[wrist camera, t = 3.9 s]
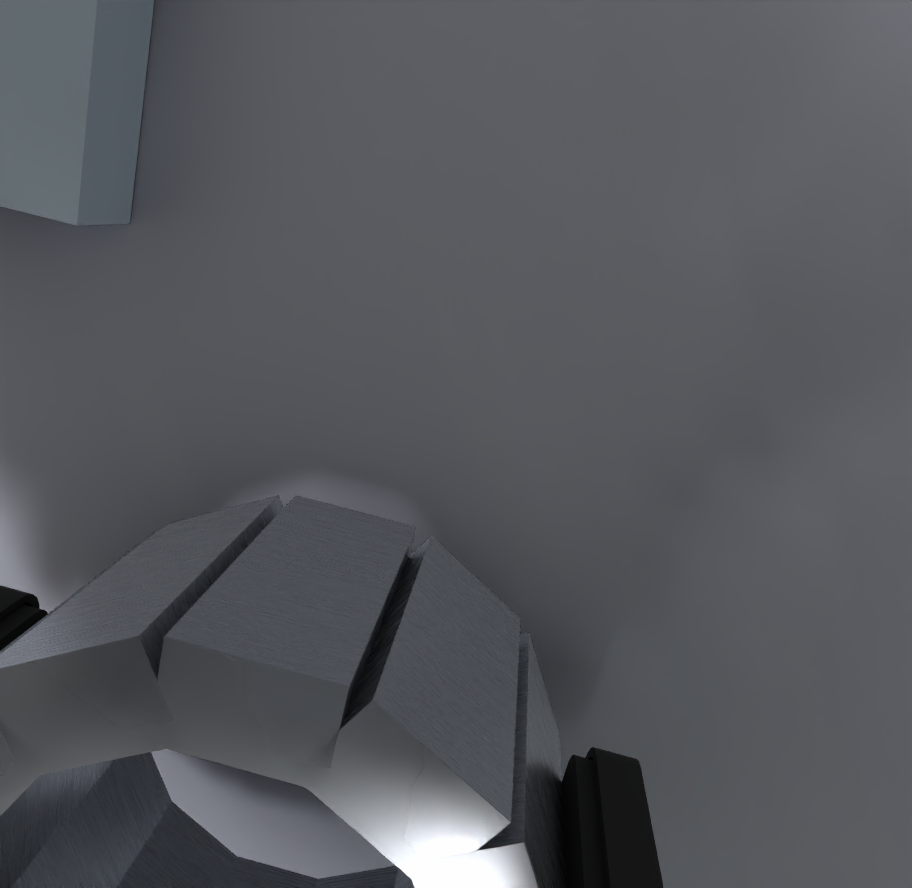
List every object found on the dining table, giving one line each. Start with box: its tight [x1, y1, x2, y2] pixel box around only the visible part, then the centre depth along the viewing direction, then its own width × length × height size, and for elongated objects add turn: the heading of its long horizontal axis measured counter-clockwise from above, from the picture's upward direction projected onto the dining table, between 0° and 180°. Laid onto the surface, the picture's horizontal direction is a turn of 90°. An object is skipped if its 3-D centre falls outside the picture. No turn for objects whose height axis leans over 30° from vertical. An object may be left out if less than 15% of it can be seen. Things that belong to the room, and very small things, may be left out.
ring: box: [0, 495, 566, 888], centre depth 9 cm, size 6×6×4 cm
